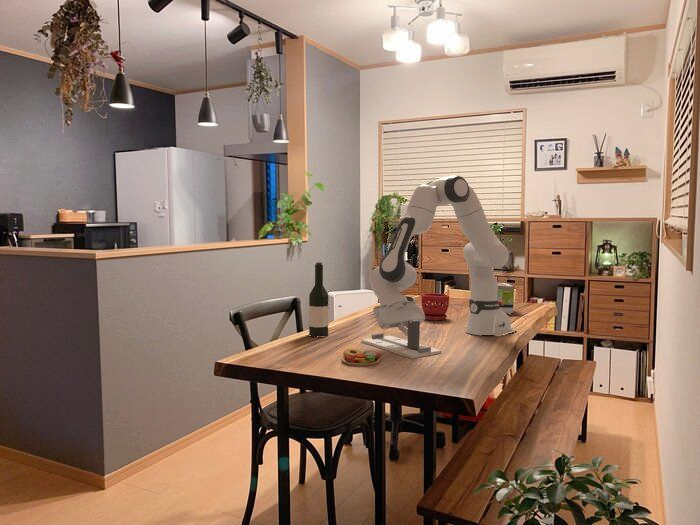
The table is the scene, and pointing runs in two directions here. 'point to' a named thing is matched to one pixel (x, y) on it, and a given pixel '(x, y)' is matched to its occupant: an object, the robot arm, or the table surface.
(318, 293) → the wine bottle
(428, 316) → the plant pot
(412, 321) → the fader tab
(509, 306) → the tea box
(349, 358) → the toy food set
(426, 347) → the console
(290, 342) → the table surface
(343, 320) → the table surface
